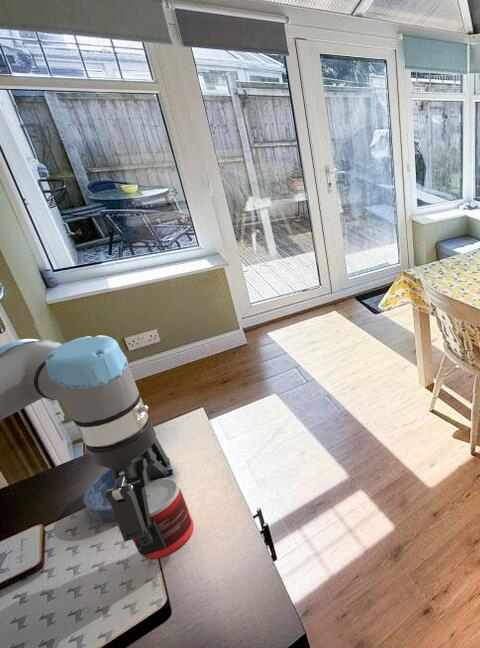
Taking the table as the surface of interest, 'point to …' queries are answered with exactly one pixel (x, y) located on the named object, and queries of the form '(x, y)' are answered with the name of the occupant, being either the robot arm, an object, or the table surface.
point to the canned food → (168, 516)
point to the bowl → (104, 495)
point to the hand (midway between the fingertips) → (162, 527)
